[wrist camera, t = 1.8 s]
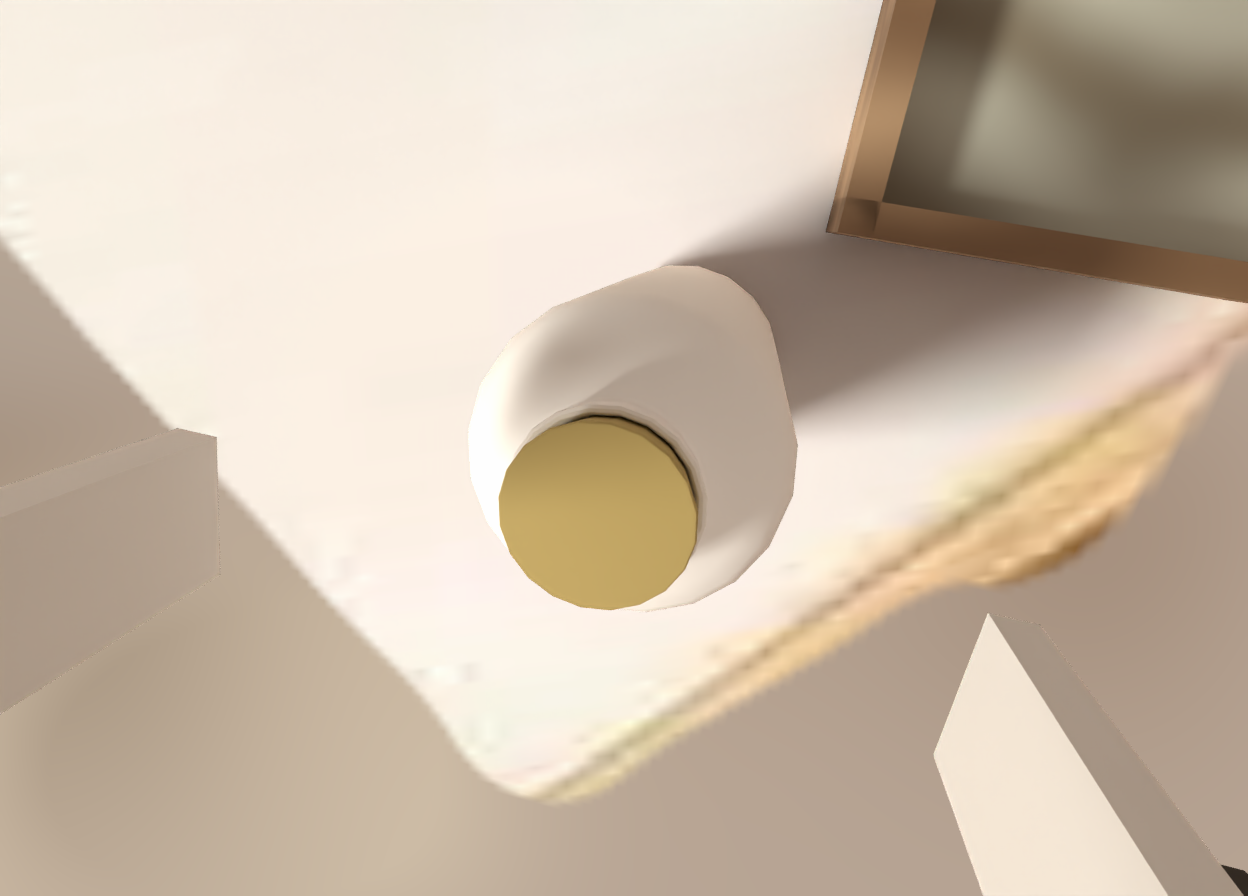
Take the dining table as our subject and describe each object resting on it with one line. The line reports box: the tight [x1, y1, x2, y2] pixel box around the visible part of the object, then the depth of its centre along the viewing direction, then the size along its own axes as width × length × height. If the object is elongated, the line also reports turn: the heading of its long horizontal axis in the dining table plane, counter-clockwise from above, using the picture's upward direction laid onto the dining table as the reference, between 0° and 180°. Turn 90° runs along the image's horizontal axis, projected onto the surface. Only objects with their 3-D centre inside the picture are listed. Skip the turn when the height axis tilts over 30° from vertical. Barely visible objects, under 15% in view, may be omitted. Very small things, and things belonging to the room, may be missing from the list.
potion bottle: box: [468, 265, 798, 612], centre depth 22 cm, size 8×8×18 cm
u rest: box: [826, 0, 1248, 303], centre depth 23 cm, size 13×15×4 cm
